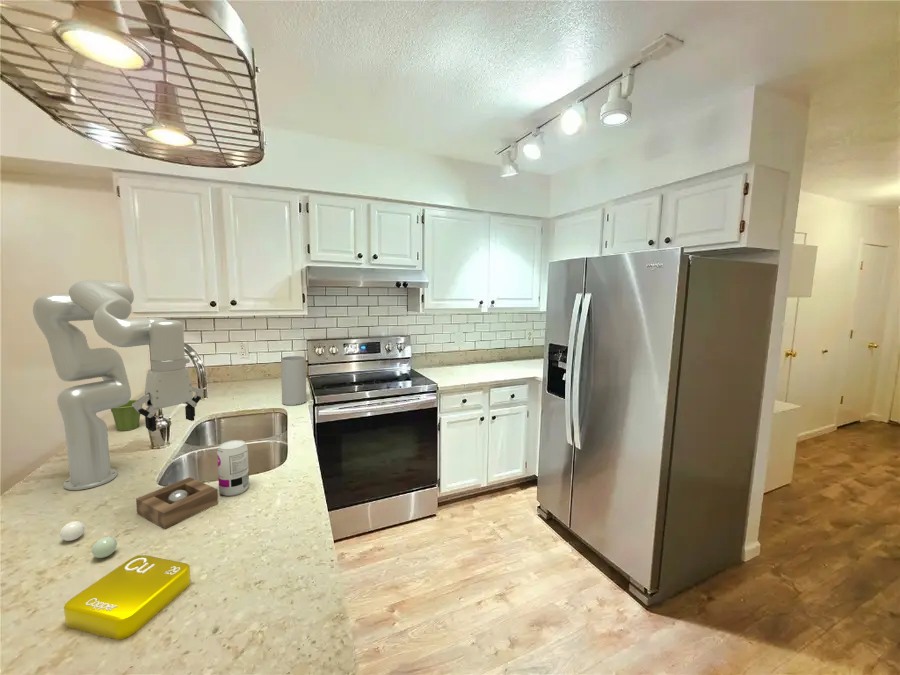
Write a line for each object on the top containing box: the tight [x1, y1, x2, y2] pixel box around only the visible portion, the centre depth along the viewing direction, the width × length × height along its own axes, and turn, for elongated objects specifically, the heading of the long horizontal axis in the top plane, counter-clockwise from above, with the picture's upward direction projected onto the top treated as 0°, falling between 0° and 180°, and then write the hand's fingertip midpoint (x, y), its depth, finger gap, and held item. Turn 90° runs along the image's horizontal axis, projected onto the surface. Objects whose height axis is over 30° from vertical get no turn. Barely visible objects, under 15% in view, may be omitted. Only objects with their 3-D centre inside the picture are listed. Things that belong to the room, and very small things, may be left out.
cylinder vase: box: [280, 355, 307, 406], centre depth 208 cm, size 12×12×25 cm
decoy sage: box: [91, 536, 118, 559], centre depth 89 cm, size 4×4×4 cm
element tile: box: [63, 554, 192, 640], centre depth 77 cm, size 15×15×5 cm
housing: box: [135, 476, 219, 530], centre depth 108 cm, size 14×14×4 cm
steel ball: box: [167, 490, 190, 504], centre depth 108 cm, size 5×5×5 cm
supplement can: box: [216, 439, 250, 497], centre depth 118 cm, size 8×8×15 cm
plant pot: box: [110, 399, 141, 432], centre depth 166 cm, size 12×12×11 cm
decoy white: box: [59, 520, 86, 542], centre depth 94 cm, size 4×4×4 cm
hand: (171, 424), depth 107 cm, fingers open, 9 cm apart
